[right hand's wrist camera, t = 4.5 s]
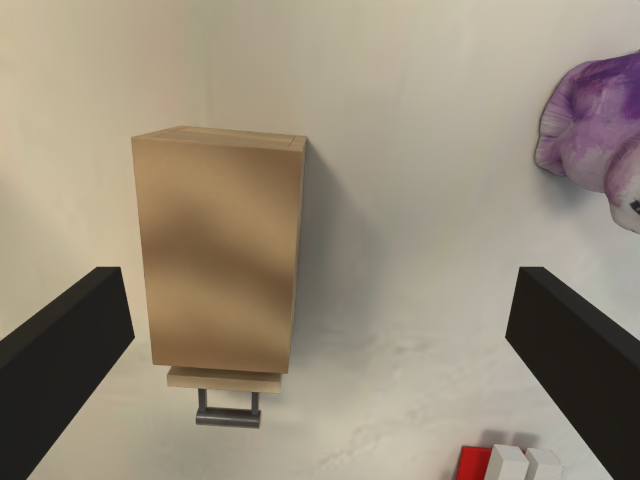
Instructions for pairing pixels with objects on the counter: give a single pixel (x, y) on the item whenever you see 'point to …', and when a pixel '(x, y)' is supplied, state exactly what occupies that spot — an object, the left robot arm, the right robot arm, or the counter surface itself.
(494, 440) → the counter surface
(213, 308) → the cabinet
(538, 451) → the toy
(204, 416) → the drawer
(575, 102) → the figurine
